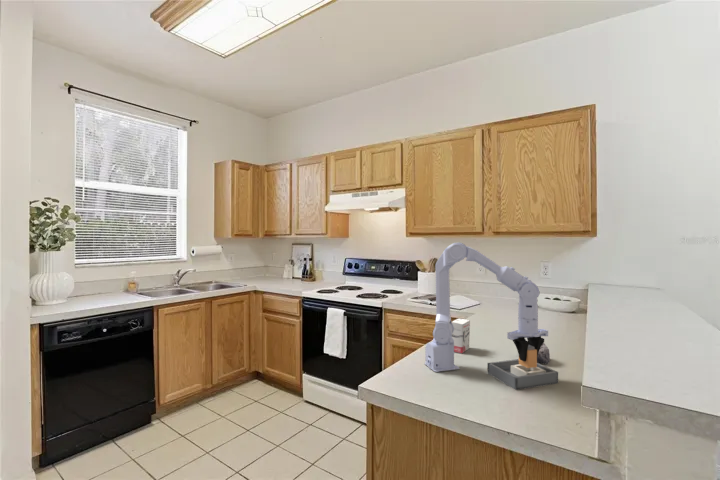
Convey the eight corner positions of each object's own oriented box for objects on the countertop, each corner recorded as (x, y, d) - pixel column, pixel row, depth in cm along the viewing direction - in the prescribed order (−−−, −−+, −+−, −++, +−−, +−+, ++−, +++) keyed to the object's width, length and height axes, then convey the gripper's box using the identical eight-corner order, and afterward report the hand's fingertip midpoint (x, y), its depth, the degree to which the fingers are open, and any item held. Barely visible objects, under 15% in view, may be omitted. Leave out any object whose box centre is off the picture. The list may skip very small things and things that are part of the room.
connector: (528, 368, 108) (528, 348, 108) (518, 363, 112) (518, 344, 112) (536, 366, 109) (536, 347, 109) (527, 362, 113) (527, 343, 113)
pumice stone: (526, 371, 121) (555, 365, 119) (520, 350, 121) (549, 344, 120) (518, 360, 131) (545, 354, 130) (513, 340, 132) (539, 335, 130)
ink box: (462, 354, 132) (462, 323, 132) (450, 351, 135) (450, 321, 135) (470, 348, 139) (470, 319, 139) (458, 346, 142) (458, 317, 142)
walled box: (515, 389, 101) (515, 378, 101) (487, 373, 113) (487, 362, 113) (558, 383, 106) (558, 372, 105) (526, 368, 118) (526, 358, 118)
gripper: (518, 322, 104) (518, 366, 104) (556, 319, 108) (556, 361, 108) (502, 317, 111) (502, 358, 111) (538, 314, 115) (538, 354, 115)
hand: (528, 359), depth 110 cm, fingers closed on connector, 3 cm apart
